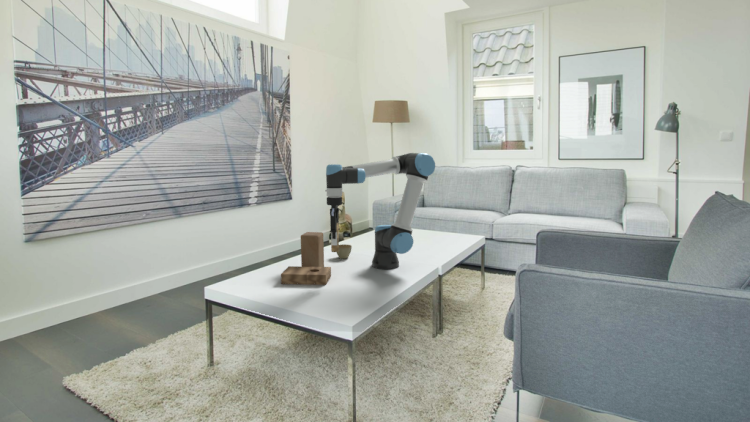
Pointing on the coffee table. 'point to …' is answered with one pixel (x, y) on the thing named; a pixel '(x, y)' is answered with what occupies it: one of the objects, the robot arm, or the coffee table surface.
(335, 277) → the coffee table surface
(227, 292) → the coffee table surface
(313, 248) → the block
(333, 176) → the robot arm
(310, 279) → the board
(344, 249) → the flower pot
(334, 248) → the peg
